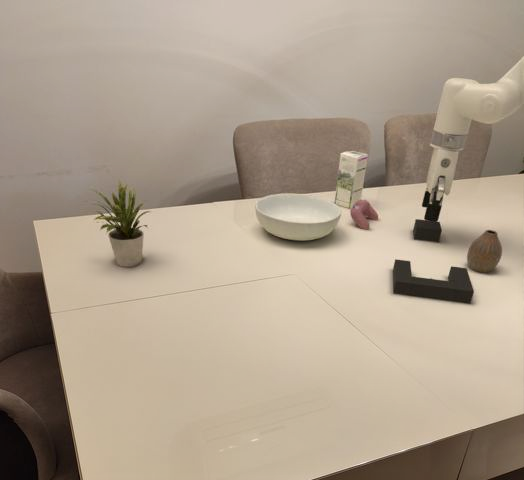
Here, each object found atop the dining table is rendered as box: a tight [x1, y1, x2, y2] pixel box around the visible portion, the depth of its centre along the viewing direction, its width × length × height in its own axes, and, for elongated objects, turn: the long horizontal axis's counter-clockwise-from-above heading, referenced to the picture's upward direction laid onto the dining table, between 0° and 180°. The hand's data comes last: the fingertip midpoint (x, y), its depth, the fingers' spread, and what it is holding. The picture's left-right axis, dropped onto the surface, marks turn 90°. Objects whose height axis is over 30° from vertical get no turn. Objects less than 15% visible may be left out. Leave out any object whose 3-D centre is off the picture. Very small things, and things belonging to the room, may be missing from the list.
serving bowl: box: [254, 193, 342, 241], centre depth 123 cm, size 21×21×7 cm
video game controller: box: [349, 199, 379, 231], centre depth 132 cm, size 10×5×7 cm, turn 154°
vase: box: [466, 229, 503, 274], centre depth 110 cm, size 7×7×9 cm
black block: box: [412, 218, 443, 243], centre depth 126 cm, size 6×6×4 cm
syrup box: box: [334, 150, 369, 210], centre depth 141 cm, size 6×6×14 cm
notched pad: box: [392, 258, 475, 305], centre depth 102 cm, size 15×11×3 cm
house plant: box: [84, 180, 151, 268], centre depth 103 cm, size 14×14×16 cm
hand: (429, 213), depth 123 cm, fingers open, 9 cm apart
